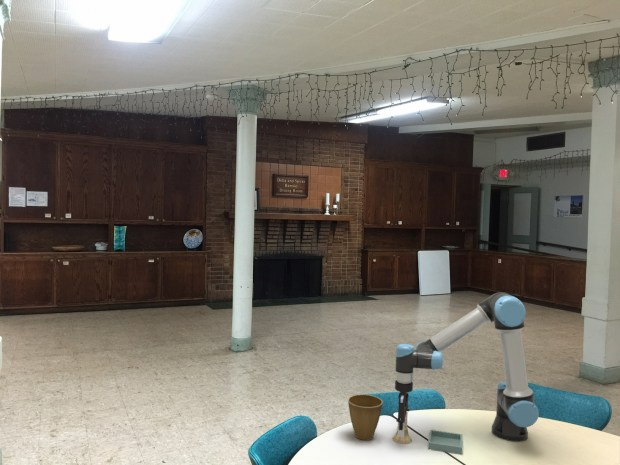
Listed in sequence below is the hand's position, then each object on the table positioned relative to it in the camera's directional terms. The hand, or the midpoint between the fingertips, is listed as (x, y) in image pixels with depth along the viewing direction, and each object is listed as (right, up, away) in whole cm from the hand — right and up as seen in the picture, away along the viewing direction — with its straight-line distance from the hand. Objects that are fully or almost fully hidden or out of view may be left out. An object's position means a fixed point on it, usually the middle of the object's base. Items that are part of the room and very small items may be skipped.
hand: (402, 431), depth 220 cm
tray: (+17, -4, -4) cm, 18 cm away
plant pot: (-16, -3, +2) cm, 17 cm away
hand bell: (0, -4, 0) cm, 4 cm away
